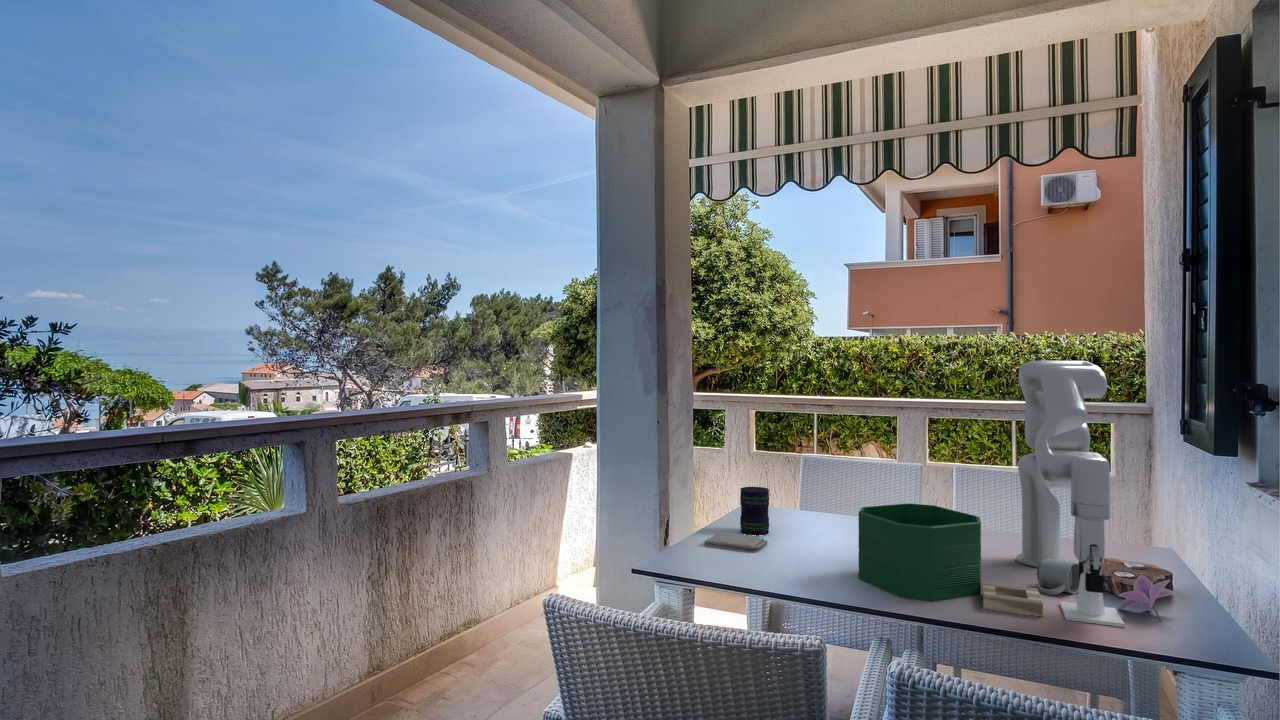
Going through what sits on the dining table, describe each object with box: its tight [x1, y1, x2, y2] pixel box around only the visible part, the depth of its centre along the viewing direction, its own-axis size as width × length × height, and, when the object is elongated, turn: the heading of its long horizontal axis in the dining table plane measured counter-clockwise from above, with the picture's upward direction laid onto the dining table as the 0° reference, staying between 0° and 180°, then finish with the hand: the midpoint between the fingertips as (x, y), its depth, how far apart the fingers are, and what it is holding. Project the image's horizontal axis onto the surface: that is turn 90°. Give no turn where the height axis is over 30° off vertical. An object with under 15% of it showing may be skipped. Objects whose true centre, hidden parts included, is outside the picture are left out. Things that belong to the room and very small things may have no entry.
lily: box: [1118, 575, 1175, 623], centre depth 157 cm, size 12×12×10 cm
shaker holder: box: [981, 581, 1044, 618], centre depth 164 cm, size 12×12×3 cm
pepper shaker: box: [1076, 563, 1105, 616], centre depth 157 cm, size 5×5×11 cm
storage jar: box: [739, 486, 770, 537], centre depth 236 cm, size 10×10×15 cm
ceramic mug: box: [1036, 559, 1080, 596], centre depth 175 cm, size 11×8×8 cm
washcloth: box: [703, 531, 768, 554], centre depth 219 cm, size 12×18×3 cm, turn 62°
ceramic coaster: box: [1059, 600, 1126, 628], centre depth 157 cm, size 11×11×1 cm
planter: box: [857, 502, 982, 603], centre depth 181 cm, size 26×26×18 cm
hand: (1090, 585), depth 157 cm, fingers open, 9 cm apart
